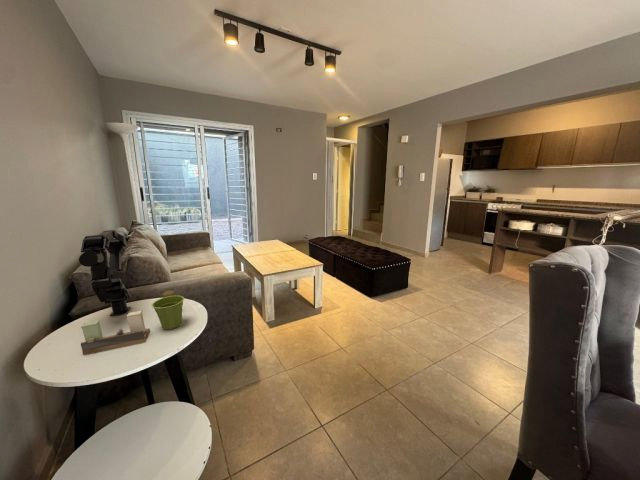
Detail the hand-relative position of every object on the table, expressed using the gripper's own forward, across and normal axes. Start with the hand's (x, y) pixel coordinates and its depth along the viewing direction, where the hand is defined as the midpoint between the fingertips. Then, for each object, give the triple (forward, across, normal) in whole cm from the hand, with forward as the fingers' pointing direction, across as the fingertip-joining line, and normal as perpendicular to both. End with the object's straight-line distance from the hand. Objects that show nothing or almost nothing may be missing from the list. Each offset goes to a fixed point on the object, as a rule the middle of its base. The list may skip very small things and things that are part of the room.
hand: (102, 301), depth 106 cm
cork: (+11, -5, -24) cm, 27 cm away
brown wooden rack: (+15, -15, -3) cm, 21 cm away
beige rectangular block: (+12, -16, -9) cm, 23 cm away
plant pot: (+13, -16, -21) cm, 30 cm away
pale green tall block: (+13, -13, +3) cm, 19 cm away
